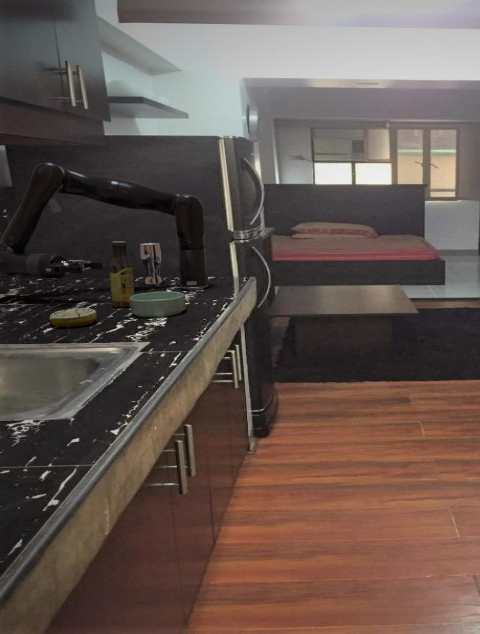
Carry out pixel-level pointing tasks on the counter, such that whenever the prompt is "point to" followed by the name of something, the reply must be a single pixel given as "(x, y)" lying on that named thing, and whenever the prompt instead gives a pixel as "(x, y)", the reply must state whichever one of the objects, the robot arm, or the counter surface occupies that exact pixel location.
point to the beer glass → (151, 262)
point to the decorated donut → (73, 317)
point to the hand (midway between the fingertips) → (91, 267)
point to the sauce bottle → (121, 276)
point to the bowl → (157, 304)
